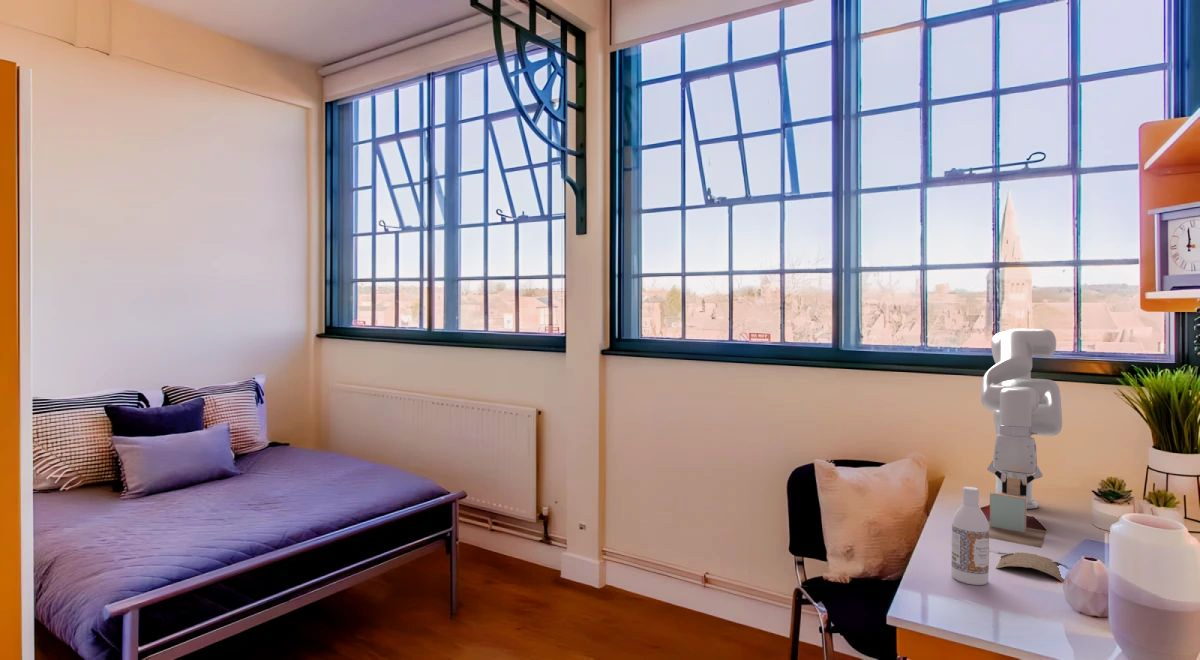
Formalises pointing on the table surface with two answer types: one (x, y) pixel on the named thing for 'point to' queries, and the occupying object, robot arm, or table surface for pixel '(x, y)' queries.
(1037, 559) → the clay tablet
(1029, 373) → the robot arm
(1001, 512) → the peach flat slab
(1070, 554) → the table surface
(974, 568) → the bath foam
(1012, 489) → the tan block
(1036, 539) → the walnut board
